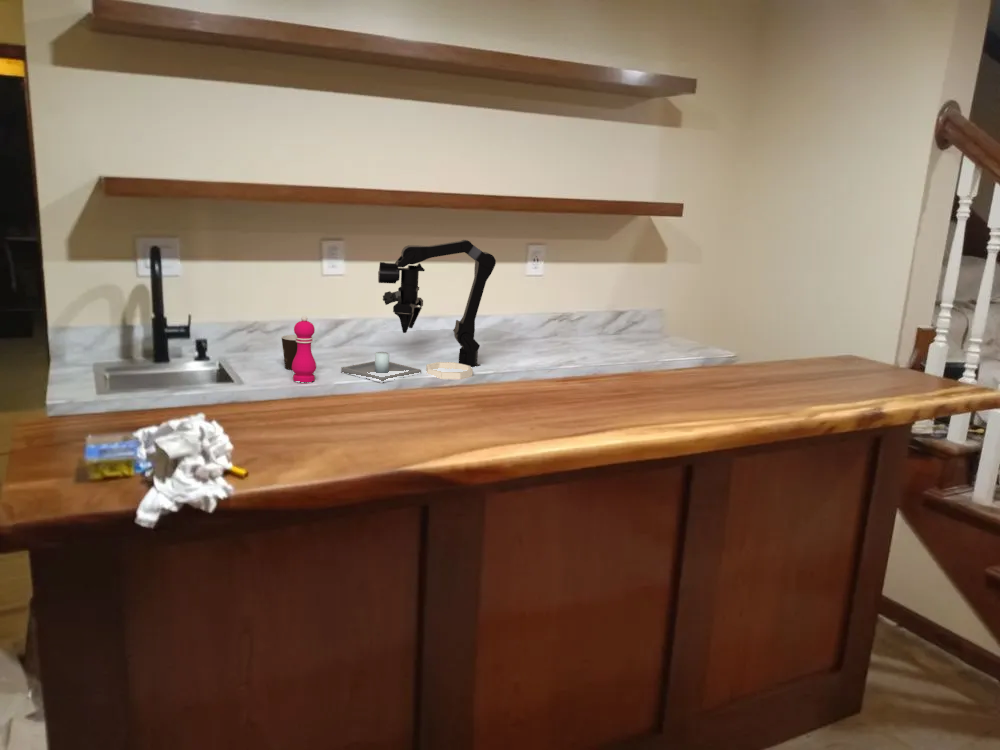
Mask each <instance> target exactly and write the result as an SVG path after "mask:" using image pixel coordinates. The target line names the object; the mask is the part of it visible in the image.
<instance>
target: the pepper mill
mask: <svg viewBox="0 0 1000 750" xmlns="http://www.w3.org/2000/svg"><path fill="white" fill-rule="evenodd" d="M315 330H316V329H315V325H314V324H313V323H312V322H310V321H308V317H307V316H306V315H302V316H301V320H300V321H298V322H296V323H295V325H294V327H293V331H294V335H297V337H296V342H297V353H296V356H295V358H294V360H293V362H292V370H291V371H293V373H294V374H292V375H293V376H292V377H293V379H292V381H293V380H294V381H300V382H312V381H314V382H315V381H316V380H315V374H314V373H315V371H316V370H317V363H316V360H315V358H314V356H313V352H312V343H313V342H314V341H313V339H314V337H313V335H314V334H315ZM294 381H293V382H294ZM312 383H313V382H312Z"/></svg>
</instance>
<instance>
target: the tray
mask: <svg viewBox="0 0 1000 750" xmlns="http://www.w3.org/2000/svg"><path fill="white" fill-rule="evenodd" d="M340 369H341V370H340V373H342V372H344V373H343V374H345V373H349V374H356V375H361V376H366V377H372V378H376V379H379V380H381V381H384V380H386V379H388V378H393V377H397V376H404V375H409V374H414V373H419V372H421V373H422V369H421V368H416V367H412V366H408V365H404V364H400V363H395V362H392V361H389V371H404V370H405V371H406V370H409V371H408V372H404V373H399V374H395V375H390V376H385V377H379V376H375V375H371V374H368V373H370V372H375V360H372V361H367V362H363V363H357V364H351V365H348V366H342V367H341V368H340ZM367 372H368V373H367ZM349 374H348V375H349Z"/></svg>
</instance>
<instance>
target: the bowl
mask: <svg viewBox="0 0 1000 750" xmlns="http://www.w3.org/2000/svg"><path fill="white" fill-rule="evenodd" d="M425 368H426V369H425V371H427V372H426V374H427V373H428V374H431V375H434V376H436V377H437V379H440V380H465V379H468V378H472V377H473V372H474V371H473V367H472V368H471V366H469V365H465V364H460V363H459V362H453V361H451V362H449V361H448V362H447V361H437V362H432V363H427V364H426V367H425ZM438 368H445V369H446V368H447V369H449V368H450V369H452V368H453V369H462V370H467V371H463V372H441V371H437V370H433V369H438ZM436 377H435V378H436Z"/></svg>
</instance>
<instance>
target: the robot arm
mask: <svg viewBox="0 0 1000 750" xmlns="http://www.w3.org/2000/svg"><path fill="white" fill-rule="evenodd" d="M461 253H463V254H464V253H465V254H466V255H468V257H470V258H471V259H472V260H474V278H473V281H472V284H471V288H470V292H469V294H468V299H467V302H466V305H465V308H464V312H463V315H462V316H461V319H460V320H458V319H456V320H455V325H454V328H453V329H452V332H453V333H454V334H453V335H454V338H455V340H456V341H457V342H458V344H459V346H460V348H459V354H458V363H460V364H465V365H469V366H471V367H472V368H475V366H476V367H479V366H481V363H478V355H479V349H480V344H479V343H478V341H477V340H475V331H476V329H475V328H476V327H475V326H476V323H475V322H476V317H477V314H478V311H479V307H480V304H481V301H482V297H483V293H484V291H485V287H486V283H487V280H488V279H489V278H490V277H491V274H492V273H493V271H494V269H495V267H496V265H497V264H496V263H497V261H496V258H495V256H494V255H493V254H492V253H489V252H486V251H482V250H481V249H480V248H478V247H476V245H474V244H473V243H472V242H471V240H470V241H469V240H467V239H461V240H459V241H452V242H446V243H444V242H443V243H439V244H432V245H420V244H419V245H414V244H411V245H410V244H409V245H406V246H403V248H402V250H401V252H400V256H399V258H398V259H396V261H395V262H393V263H392V262H385V261H380V262H379V268H378V272H377V274H378V276H377V277H378V278H377V282H378V284H395V285H396V284H397V282H399V281H400V286H399V287H398V288H397V289H398V290H396V291H393V292H391V291H390V290H389V291H387V292H384V295H382V301H383V302H384V304H385V306H387V305H389V304H392V303H395V304H394V305H393V308H392V310H393V311H392V312H393V313H394V314H395V315H396V316H397V317H398V318H399V321H400V325H401V332H402V333H403V334H404V333H405V334H406V333H407V331H408V329H413V328H414V326H415V323H416V321H417V319H418V317H419V314H420V312H421V310H422V309H423V306H424V300H423V299H422V297H418V294H419V291H420V286H419V273H420V272H425V271H426V270H425V268H423V266H422V264H421V262H424V261H426V260H429V259H432V258H436V257H444V256H450V255H457V254H461ZM415 264H416V265H415ZM396 302H397V303H396Z"/></svg>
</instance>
